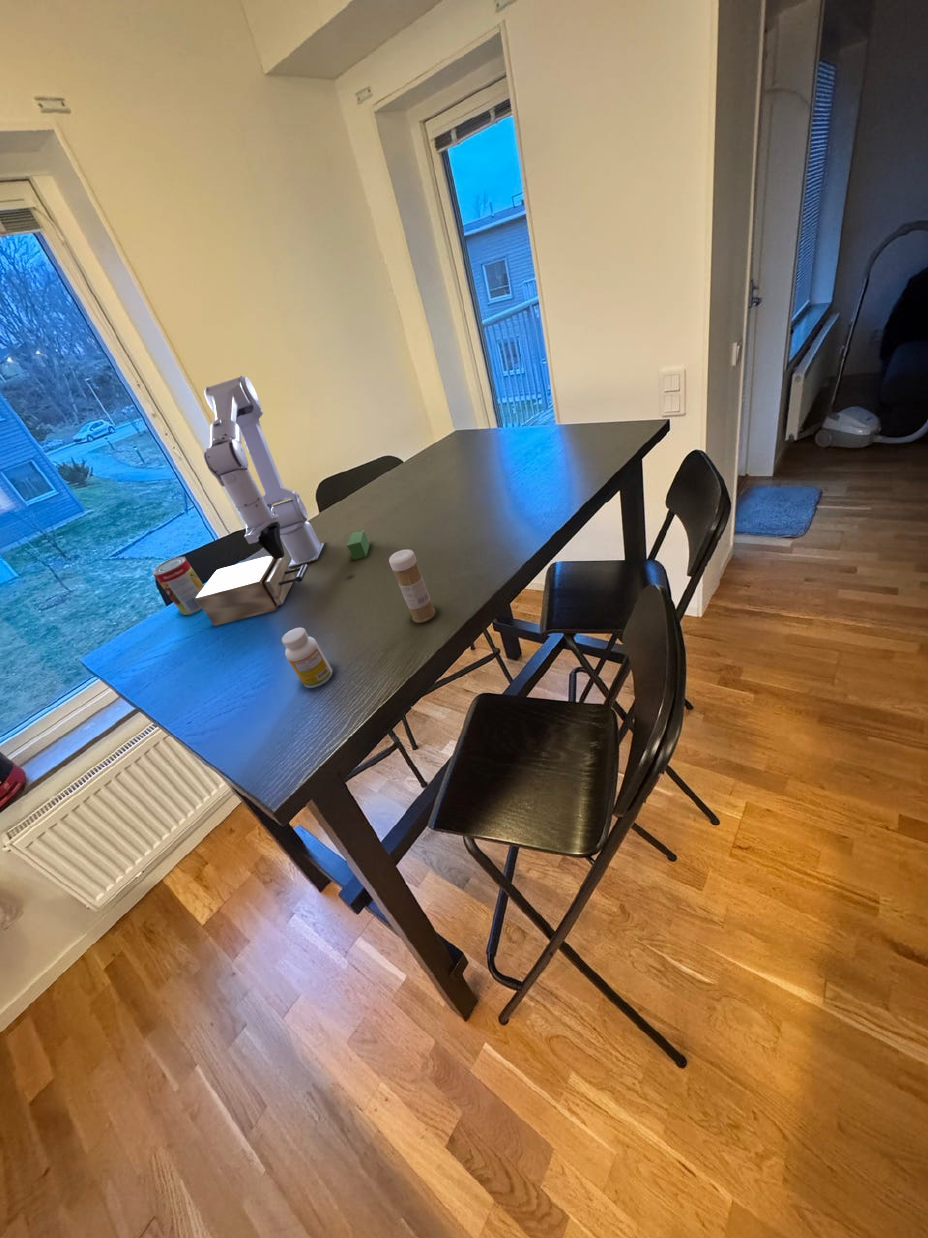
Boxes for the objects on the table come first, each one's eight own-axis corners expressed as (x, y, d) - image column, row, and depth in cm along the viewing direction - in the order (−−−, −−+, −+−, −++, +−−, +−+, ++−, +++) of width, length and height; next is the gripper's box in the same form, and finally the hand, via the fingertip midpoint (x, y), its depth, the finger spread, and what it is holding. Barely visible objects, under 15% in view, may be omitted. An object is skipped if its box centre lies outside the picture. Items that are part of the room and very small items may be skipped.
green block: (357, 547, 126) (351, 533, 124) (369, 544, 125) (363, 529, 123) (353, 560, 120) (346, 545, 118) (366, 556, 120) (360, 542, 117)
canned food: (206, 593, 127) (179, 554, 121) (216, 600, 122) (189, 560, 115) (177, 610, 124) (148, 570, 117) (186, 618, 118) (156, 577, 112)
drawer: (316, 572, 118) (305, 550, 114) (305, 598, 108) (293, 574, 105) (241, 592, 120) (228, 571, 117) (224, 619, 111) (209, 597, 107)
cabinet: (290, 581, 120) (275, 553, 115) (276, 610, 109) (259, 581, 105) (234, 596, 122) (216, 569, 117) (214, 626, 111) (194, 598, 106)
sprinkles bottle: (430, 606, 94) (408, 545, 86) (439, 616, 90) (417, 553, 82) (409, 616, 93) (384, 556, 85) (417, 627, 89) (393, 565, 81)
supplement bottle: (306, 671, 87) (281, 629, 81) (335, 663, 86) (311, 621, 81) (301, 692, 82) (273, 649, 77) (330, 684, 82) (305, 640, 77)
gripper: (256, 509, 95) (287, 568, 102) (276, 484, 107) (303, 538, 114) (223, 519, 96) (257, 576, 103) (247, 492, 107) (276, 546, 115)
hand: (279, 557), depth 109 cm, fingers closed
